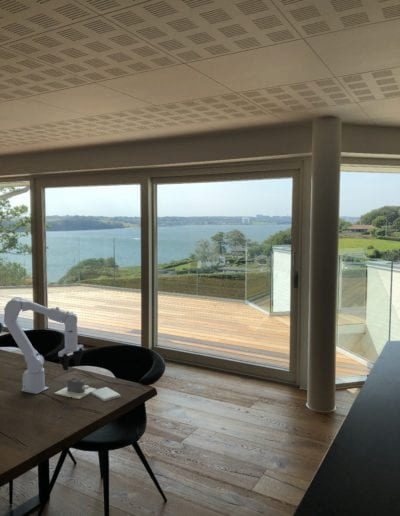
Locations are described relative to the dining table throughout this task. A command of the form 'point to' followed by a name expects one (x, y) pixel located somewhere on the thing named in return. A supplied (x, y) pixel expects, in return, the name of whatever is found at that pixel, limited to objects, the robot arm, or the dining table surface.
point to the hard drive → (105, 394)
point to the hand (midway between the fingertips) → (71, 367)
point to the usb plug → (76, 385)
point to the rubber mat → (74, 395)
